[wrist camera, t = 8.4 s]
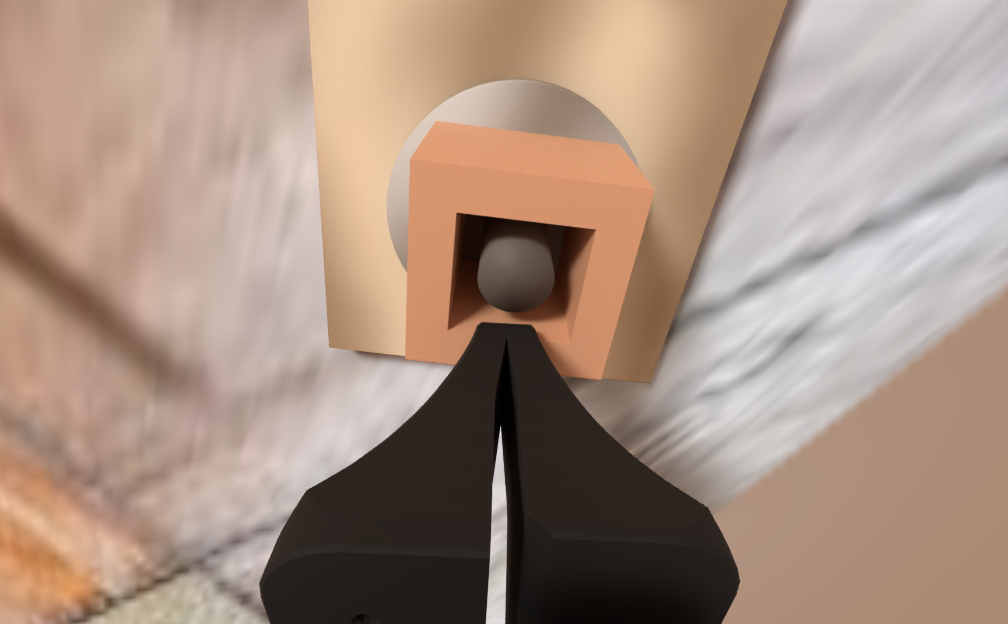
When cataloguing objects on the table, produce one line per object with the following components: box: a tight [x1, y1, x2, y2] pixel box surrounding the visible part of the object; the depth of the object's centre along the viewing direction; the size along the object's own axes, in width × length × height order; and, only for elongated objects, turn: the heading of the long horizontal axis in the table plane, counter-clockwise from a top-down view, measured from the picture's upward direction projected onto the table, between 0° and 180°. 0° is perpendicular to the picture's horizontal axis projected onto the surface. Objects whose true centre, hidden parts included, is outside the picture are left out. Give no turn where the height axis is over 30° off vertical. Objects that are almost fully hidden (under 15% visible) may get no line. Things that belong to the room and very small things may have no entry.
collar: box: [405, 121, 655, 380], centre depth 13 cm, size 5×5×4 cm
